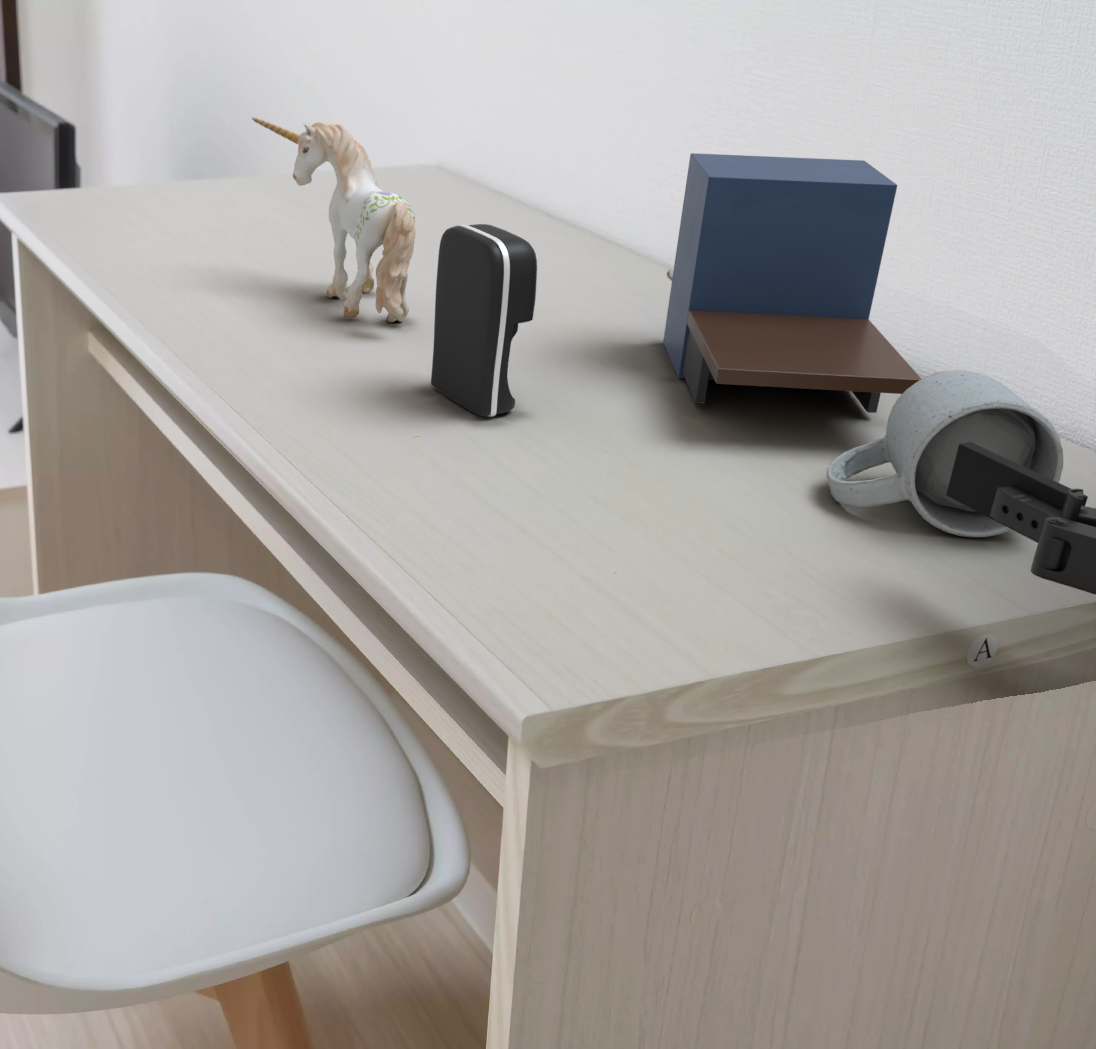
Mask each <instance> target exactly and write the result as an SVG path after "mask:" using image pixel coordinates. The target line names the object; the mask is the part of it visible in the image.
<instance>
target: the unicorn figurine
mask: <svg viewBox="0 0 1096 1049" xmlns="http://www.w3.org/2000/svg"><path fill="white" fill-rule="evenodd" d="M251 120H252V121H253V122H254V123H256V124H259V126H262V127H264V128H265V129H268V130H270V131H271V132H273V133H275V134H276V135H278V136H281V137H283V139H287V140H288V141H290V142H292V143H293V144H295V145H298V148H297V156H296V159H295V161H294V165H293V166H294V167H293V171H292V178H293V180H294V181H295V182H296V184H297V185H298V186H300V187H302V186H305V185H309V184H311V182H312V180H313V179H312V178H313V177H312V175H313V174H314V172H315V171H316V170H317V168H319V167H320V166H321V165H323V164H325V163H326V162H328V163H330V165H331V166H332V168H333V171H334V173H335V177H336V178H335V179H336V185H335V187H334V191H333V193H332V197H331V199H330V202H329V205H328V221H329V223H330V227H331V232H332V237H333V242H334V246H333V260H334V274H333V277H332V282H331V283H330V284H329V285H328V288H327V290H326V292H325V296H326V297H327V298H330V299H331V298H333V297H334V296H336V297H338V298H339V299H340V300H341V301H342V300H343V299H344V298H345V291H346V288H347V282H348V281H349V277H348V273H347V271H346V269H345V266H344V264H345V260H346V257H347V248H346V240H347V236H348V235H349V236H350V238H352V239H353V240H354V242H355V246H356V248H355V249H356V250H355V259H356V260H355V261H356V266H357V271H356V275H355V278H354V280H353V281H352V283H351V285H350V286H349V287H348V288H347V291H346V299H345V301H344V304H343V316H344V317H345V318H349V319H352V318H353V319H354V318H357V316H359V314H360V303H361V300H362V298H363V294H368V293H371V292H372V291H373V290H374V288H375V279H374V277H373V272H374V265H373V264H372V263H371V258H372V256H373V254H374V253H375V252H376V251H377V250H378V249H379V248H380V247H381V246H382V248H383V249H382V252H381V254H382V257H381V258H380V260H379V262H378V263H377V265H376V267H375V278H376V289H375V304H374V307H375V309H376V311H377V314H381V313H382V310H383V308H384V309H385V310H386V311H387V312H388V314H387V315H386V321H387V322H388V323H394V322H395V321H398V322H399V323H403V322H404V321H405V320H406V318H407V316H408V314H409V311H410V308H409V305H408V302H407V299H406V298H407V297H406V287H407V283H408V278H409V273H408V270H409V266H410V261H411V259H412V257H413V254H414V249H415V239H416V227H415V224H416V214H415V213H414V210H413V208H412V206H411V205H410V204H409V202H408V201H407V200H405V199H404V198H403V197H402V196H400V195H399V194H397V193H394V192H391V191H385V190H381V189H380V188H379V187H378V186H377V185H378V178H377V176H376V175H375V174H376V173H375V172H374V170H373V169H372V162H371V160H370V159H369V156H368V153H367V150H366V149H365V148H364V146H363V145H362V144H361V143H359V142H358V141H357V140H356V139H355V137H354V136H353V135H351V133H349V131H348V130H347V129H346V127H345V126H343V125H341V124H339V123H338V124H334V123H324V122H321V121H316V122H314V123H312V124H311V123H309V124H307V123H303V124H302V125H303V126H304V128H305V131H302V132H301V133H300V134H299V133H296V132H295V131H290V130H288V129H286V128H283V127H281V126H278V125H276V124H274V123H271V122H268V121H265V120H263V119H260V118H258V117H254V116H253V117H252V118H251Z"/></svg>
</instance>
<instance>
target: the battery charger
mask: <svg viewBox="0 0 1096 1049" xmlns="http://www.w3.org/2000/svg"><path fill="white" fill-rule="evenodd" d="M441 235H442V236H441V238H440V241H439V248H438V255H437V256H438V257H437V258H438V259H437V270H436V281H435V282H436V286H435V303H434V323H433V324H434V326H433V328H434V329H433V351H432V363H431V375H430V385H431V386H432V387H433V388H434V389H436V390H437V391H439V392H440V393H441V394H443V395H445V396H446V397H447V398H449V399H451V400H452V401H453V402H455V403H456V404H458V405H460V406H461V407H463V408H465V409H466V410H468V411H470V412H472V413H474V414H476V415H478V416H480V417H487V418H489V417H495V416H496V415H501V414H504V413H508V412H511V411H512V410H513V409H514V408H515V407H516V406H515V405H516V399H515V398H514V396H513V395H512V392H511V389H510V386H509V379H508V372H509V362H510V354H511V346H512V345H511V344H512V341H513V339H514V338H515V336H516V334H517V333H518V332H519V331H518V330H519V324H523V323H529V322H531V321H533V319H534V313H535V307H536V296H537V281H538V259H537V254H536V252H535V248H534V247H533V246H532V245H531V244H530V242H529V241H527V240H526V239H525V238H523V237H520V236H518V235H516V234H515V233H512V232H510V231H508V230H506V229H503V228H500V227H497V226H494V225H491V224H487V223H476V224H456V225H455V224H454V226H451V227H449V228H447V229H445V231H444V232H443V233H442V234H441Z"/></svg>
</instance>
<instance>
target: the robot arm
mask: <svg viewBox="0 0 1096 1049" xmlns="http://www.w3.org/2000/svg"><path fill="white" fill-rule="evenodd" d="M946 496H948V497H950V498H952V499H954V500H956V501H958V502H960V503H961V504H963V505H965V506H967V507H969V508H971V509H973V510H975V511H977V512H979V513H981V514H983V515H985V516H987V517H988V518H990V519H992V520H994V521H996V522H998V523H1000V524H1002V525H1004V526H1006V527H1008V528H1010V529H1012V530H1011V531H1014V532H1016V533H1018V534H1019V535H1022V536H1024V537H1025V538H1027V539H1029V540H1031V541H1033V542H1035V543H1037V545H1036V549H1035V552H1034V556H1033V560H1032V564H1031V567H1030V572H1031V574H1033V575H1034V576H1036V577H1037V578H1040V579H1044V580H1047V581H1050V582H1053V583H1057V584H1060V585H1063V586H1066V587H1069V588H1073V589H1076V590H1079V591H1082V592H1085V593H1089V594H1092V595H1095V596H1096V507H1091V506H1086V504H1087V501H1088V499H1089V498H1088V497H1089V496H1088V495H1086V494H1084V489H1083V488H1071V487H1068V486H1066V485H1065V484H1062V483H1060V482H1059V483H1058V482H1056V481H1054V480H1052V479H1049V478H1047V477H1045V476H1043V475H1041V474H1039V473H1037V472H1034V471H1032V470H1030V469H1028V468H1026V467H1024V466H1022V465H1019V464H1017V463H1015V462H1013V461H1011V460H1009V459H1006V458H1004V457H1002V456H1000V455H998V454H996V453H994V452H991V451H989V450H987V449H985V448H983V447H981V446H979V445H976V444H974V443H972V442H968V443H962V444H959V446H958V450H957V454H956V458H955V462H954V466H953V470H952V474H951V478H950V481H949V485H948V489H947V493H946Z"/></svg>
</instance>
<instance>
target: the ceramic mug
mask: <svg viewBox="0 0 1096 1049" xmlns="http://www.w3.org/2000/svg"><path fill="white" fill-rule="evenodd" d="M1060 438H1061V437H1059V434H1058V431H1057V429H1056V428H1055V426H1054V425H1053V423H1052V422H1051V421H1050V420H1049V418H1047V417H1046V416H1044V414H1043V413H1041V412H1040V411H1038V410H1037V409H1036V408H1034V407H1033V406H1031V405H1030V404H1029V403H1028V402H1027V401H1025V400H1024V399H1023V398H1022V397H1020V396H1019V395H1018V394H1016V393H1015V392H1014V391H1013V390H1011V389H1010V388H1009V387H1008V386H1006V385H1005V384H1004V383H1002V382H1001V381H1000V380H997V379H995V378H993V377H991V376H989V375H986V374H984V373H980V372H976V371H971V370H964V369H963V370H961V369H957V370H955V369H954V370H944V371H939V372H935V373H932V374H929V375H927V376H925V377H923V378H921V379H920V380H919V381H918V382H916V383H915V384H913V385H912V386H911V387H909V388H908V389H907V390H905V391H904V392H903V393H902V394H900V395H899V397H898V398H897V399H896V401H895V403H894V404H893V405H892V408H891V410H890V412H889V415H888V418H887V423H886V430H885V435H884V437H883V438H880V439H876V440H873V441H870V442H867V443H865V444H862V445H858V446H856V447H852V448H851V449H849V450H846V451H844V452H842V453H841V454H839V456H837V457H836V458H835V459H833V460H832V461H831V462H830V463H829V465H828V467H827V469H826V479H827V483H828V486H829V490H830V493H831V496H832V498H833V499H834V501H836V502H837V503H839V504H840V505H844V506H847V507H853V508H854V507H855V508H871V507H879V506H886V505H892V504H895V503H900V502H904V501H908V502H911V504H912V506H913V507H914V509H915V510H916V511H917V513H918V514H919V515H920V516H921V518H922V519H923V520H925V521H926V522H927V523H928V524H930V525H932V526H933V527H935V528H937V529H939V530H941V531H942V532H945V533H948V534H951V535H955V536H959V537H966V538H989V537H993V536H998V535H1003V534H1004V533H1005V534H1006V533H1007V532H1010V531H1013V530H1012V529H1010V528H1008V527H1006V526H1004V525H1002V524H1000V523H998V522H996V521H994V520H992V519H990V518H988V517H987V516H985V515H983V514H981V513H979V512H977V511H975V510H973V509H971V508H969V507H967V506H965V505H963V504H961V503H960V502H958V501H956V500H954V499H952V498H950V497H948V496H946V493H947V489H948V485H949V481H950V478H951V474H952V470H953V466H954V462H955V458H956V454H957V450H958V446H959V444H962V443H968V442H972V443H974V444H976V445H979V446H981V447H983V448H985V449H987V450H989V451H991V452H994V453H996V454H998V455H1000V456H1002V457H1004V458H1006V459H1009V460H1011V461H1013V462H1015V463H1017V464H1019V465H1022V466H1024V467H1026V468H1028V469H1030V470H1032V471H1034V472H1037V473H1039V474H1041V475H1043V476H1045V477H1047V478H1049V479H1052V480H1054V481H1056V482H1058V483H1060V480H1061V477H1062V472H1063V469H1064V451H1063V450H1064V449H1063V445H1062V442H1061V439H1060ZM887 463H891V466H892V468H893V469H894V471H895V473H896V474H893V475H888V476H882V477H878V478H873V479H867V480H848V479H849V478H851V477H852V476H855V475H858V474H860V473H861V472H864V471H866V470H869V469H871V468H876V467H878V466H882V465H884V464H887Z"/></svg>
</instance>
